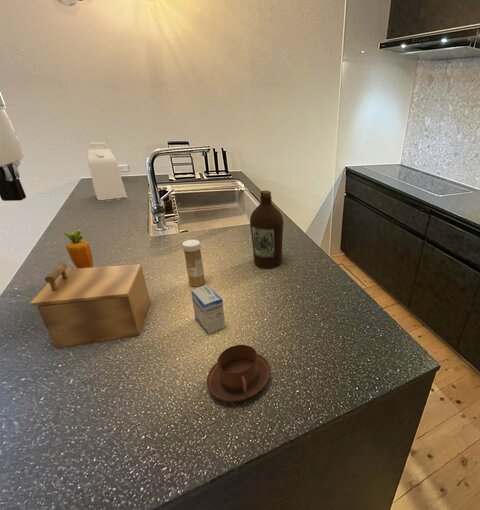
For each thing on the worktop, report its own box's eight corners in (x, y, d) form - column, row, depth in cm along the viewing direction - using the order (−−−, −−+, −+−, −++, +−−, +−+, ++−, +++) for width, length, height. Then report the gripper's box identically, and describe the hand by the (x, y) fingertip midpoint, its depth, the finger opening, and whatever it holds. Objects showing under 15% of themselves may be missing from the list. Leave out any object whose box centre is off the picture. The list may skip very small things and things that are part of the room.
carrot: (73, 279, 88) (55, 231, 81) (89, 271, 93) (74, 225, 86) (87, 282, 87) (70, 234, 81) (103, 274, 92) (88, 228, 85)
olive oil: (258, 253, 111) (255, 186, 100) (286, 257, 111) (286, 189, 99) (247, 267, 102) (242, 194, 91) (278, 271, 101) (277, 198, 90)
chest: (55, 348, 65) (36, 307, 61) (79, 310, 77) (65, 273, 72) (139, 335, 70) (128, 296, 66) (150, 301, 82) (141, 266, 77)
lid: (30, 306, 60) (22, 287, 58) (60, 272, 71) (54, 255, 69) (128, 296, 66) (123, 279, 64) (141, 266, 77) (138, 251, 75)
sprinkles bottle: (185, 284, 90) (178, 243, 84) (197, 277, 94) (191, 237, 88) (197, 288, 89) (190, 247, 83) (209, 281, 93) (203, 241, 87)
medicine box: (194, 318, 77) (189, 290, 73) (212, 311, 80) (208, 283, 76) (208, 335, 72) (203, 305, 68) (226, 327, 75) (222, 298, 71)
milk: (123, 192, 162) (110, 141, 151) (127, 198, 155) (114, 144, 143) (95, 195, 155) (80, 141, 143) (98, 201, 147) (81, 144, 136)
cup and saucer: (282, 380, 62) (282, 358, 59) (228, 419, 54) (225, 396, 51) (248, 350, 69) (247, 328, 66) (196, 380, 61) (192, 357, 58)
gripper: (-28, 96, 59) (11, 190, 67) (-94, 97, 46) (-36, 212, 54) (22, 99, 61) (54, 189, 69) (-28, 101, 49) (18, 210, 57)
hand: (14, 199), depth 62 cm, fingers closed
